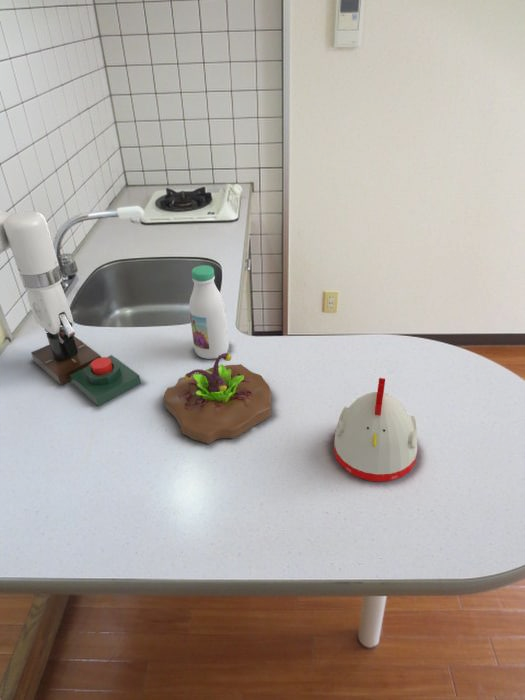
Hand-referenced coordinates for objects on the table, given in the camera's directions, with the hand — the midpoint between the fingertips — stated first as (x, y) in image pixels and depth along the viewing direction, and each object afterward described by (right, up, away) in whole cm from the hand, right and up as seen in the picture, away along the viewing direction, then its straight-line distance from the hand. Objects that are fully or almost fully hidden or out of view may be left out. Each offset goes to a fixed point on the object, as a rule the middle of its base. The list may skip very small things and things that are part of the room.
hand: (64, 350), depth 115 cm
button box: (+11, -7, -5) cm, 14 cm away
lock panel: (0, -3, +2) cm, 4 cm away
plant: (+35, -11, -12) cm, 39 cm away
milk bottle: (+32, 0, +4) cm, 32 cm away
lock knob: (0, -1, +1) cm, 1 cm away
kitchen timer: (+63, -17, -24) cm, 69 cm away
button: (+11, -4, -7) cm, 13 cm away
